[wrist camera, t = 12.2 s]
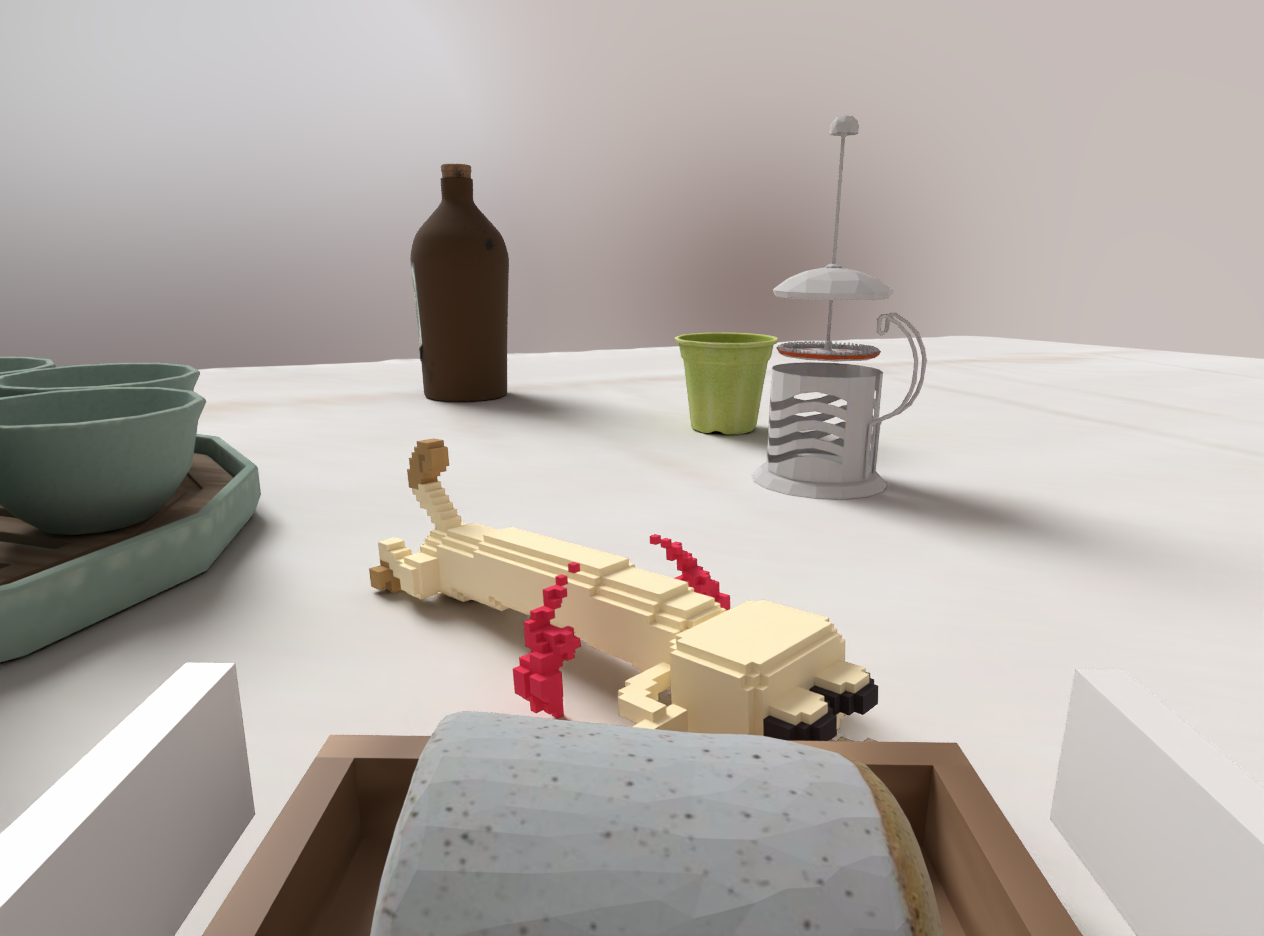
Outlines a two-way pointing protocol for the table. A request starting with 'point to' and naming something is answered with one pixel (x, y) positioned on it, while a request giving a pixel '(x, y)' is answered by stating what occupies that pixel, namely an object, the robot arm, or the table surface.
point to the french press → (830, 389)
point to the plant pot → (725, 379)
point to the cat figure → (634, 625)
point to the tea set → (106, 493)
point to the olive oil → (461, 296)
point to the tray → (912, 771)
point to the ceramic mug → (646, 837)
